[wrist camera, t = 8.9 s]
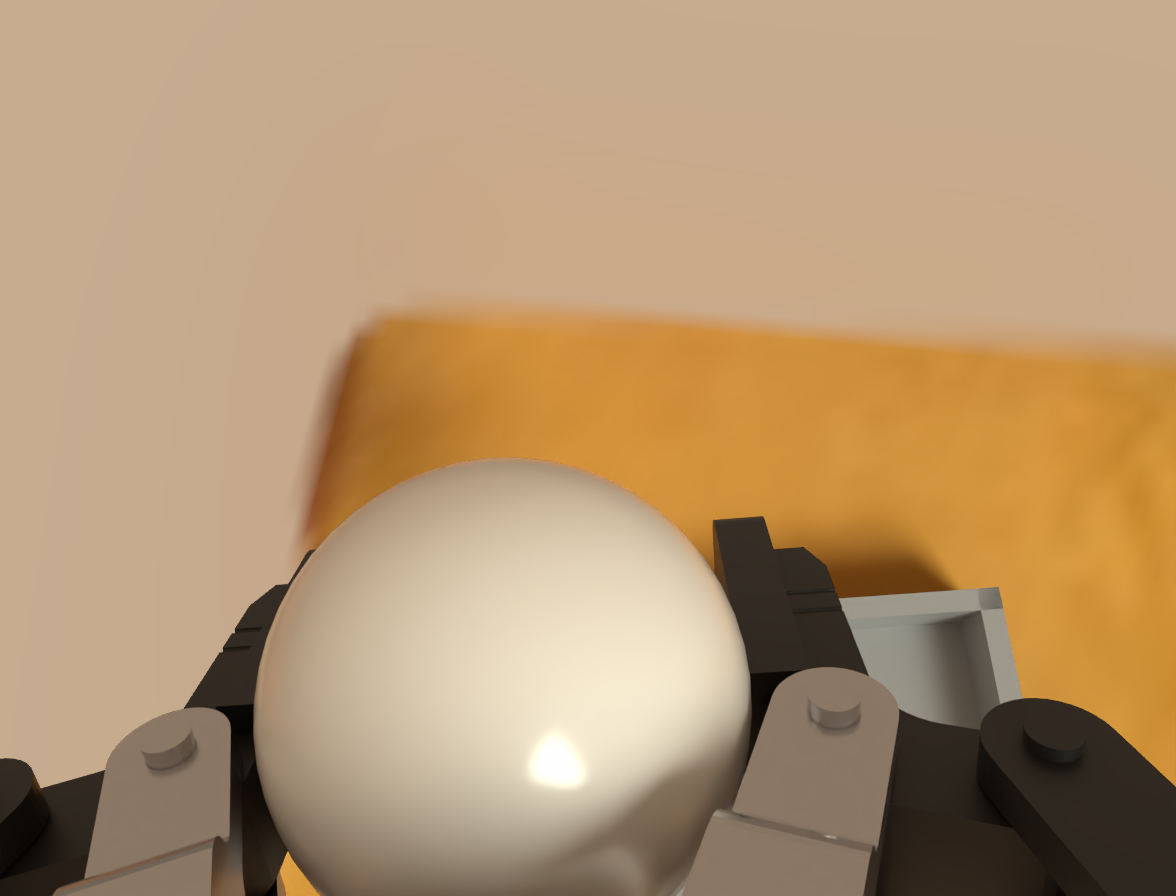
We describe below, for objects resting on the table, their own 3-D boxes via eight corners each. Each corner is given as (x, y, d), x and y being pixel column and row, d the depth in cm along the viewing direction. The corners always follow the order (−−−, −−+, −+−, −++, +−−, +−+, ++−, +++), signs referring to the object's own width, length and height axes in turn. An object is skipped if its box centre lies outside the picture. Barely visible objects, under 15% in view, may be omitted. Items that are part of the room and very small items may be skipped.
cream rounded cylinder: (705, 586, 18) (738, 353, 8) (734, 885, 16) (819, 1022, 6) (438, 605, 18) (181, 401, 9) (437, 899, 16) (105, 1048, 7)
